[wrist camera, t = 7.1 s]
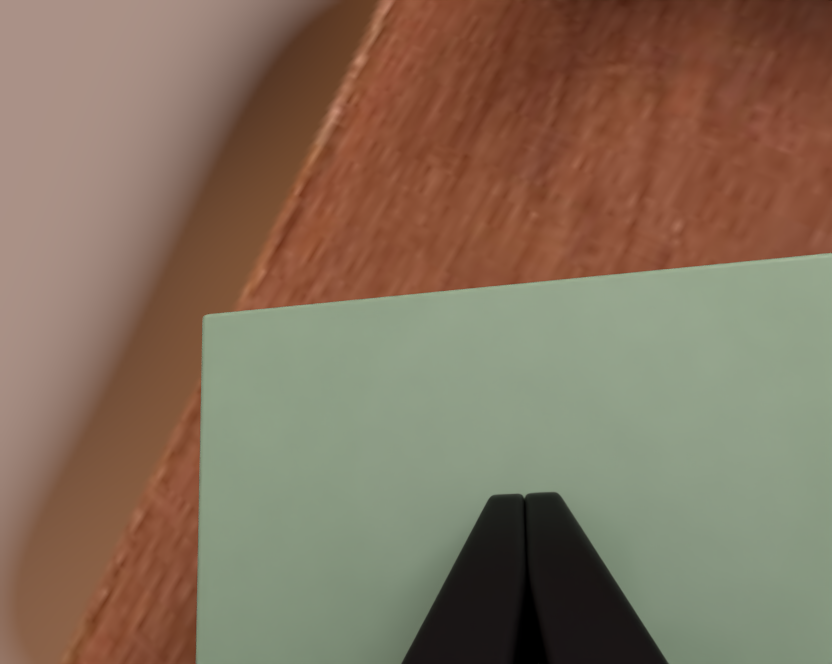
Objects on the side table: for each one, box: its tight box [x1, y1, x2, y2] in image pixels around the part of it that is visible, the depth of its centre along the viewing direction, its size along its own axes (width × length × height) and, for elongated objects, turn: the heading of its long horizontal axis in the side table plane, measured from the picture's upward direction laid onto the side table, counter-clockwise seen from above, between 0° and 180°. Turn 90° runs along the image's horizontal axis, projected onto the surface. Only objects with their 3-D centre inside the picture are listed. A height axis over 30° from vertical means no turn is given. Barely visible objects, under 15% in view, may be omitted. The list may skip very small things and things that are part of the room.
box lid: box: [196, 253, 832, 664], centre depth 9 cm, size 10×9×1 cm
